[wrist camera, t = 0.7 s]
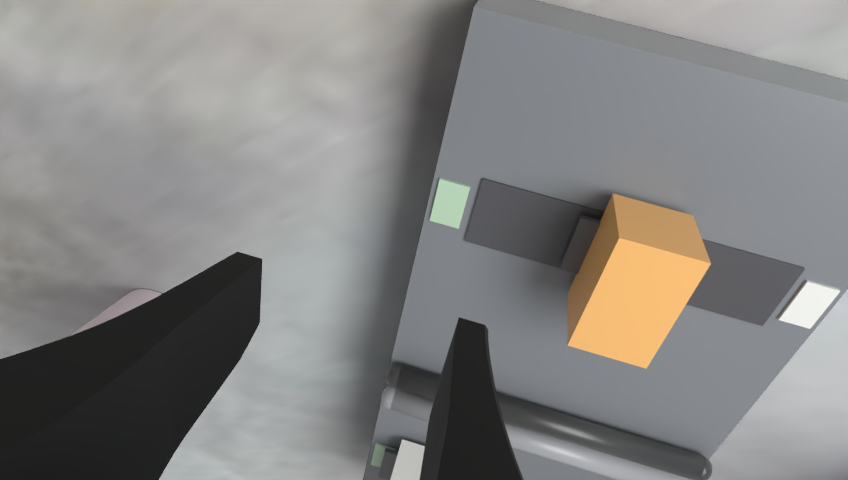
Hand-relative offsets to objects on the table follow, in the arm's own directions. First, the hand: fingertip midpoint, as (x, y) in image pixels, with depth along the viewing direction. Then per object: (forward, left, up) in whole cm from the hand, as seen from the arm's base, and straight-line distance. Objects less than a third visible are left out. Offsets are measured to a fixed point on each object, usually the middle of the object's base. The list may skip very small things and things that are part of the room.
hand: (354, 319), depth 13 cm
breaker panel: (-7, +6, -9) cm, 13 cm away
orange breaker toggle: (-7, 0, -6) cm, 9 cm away
